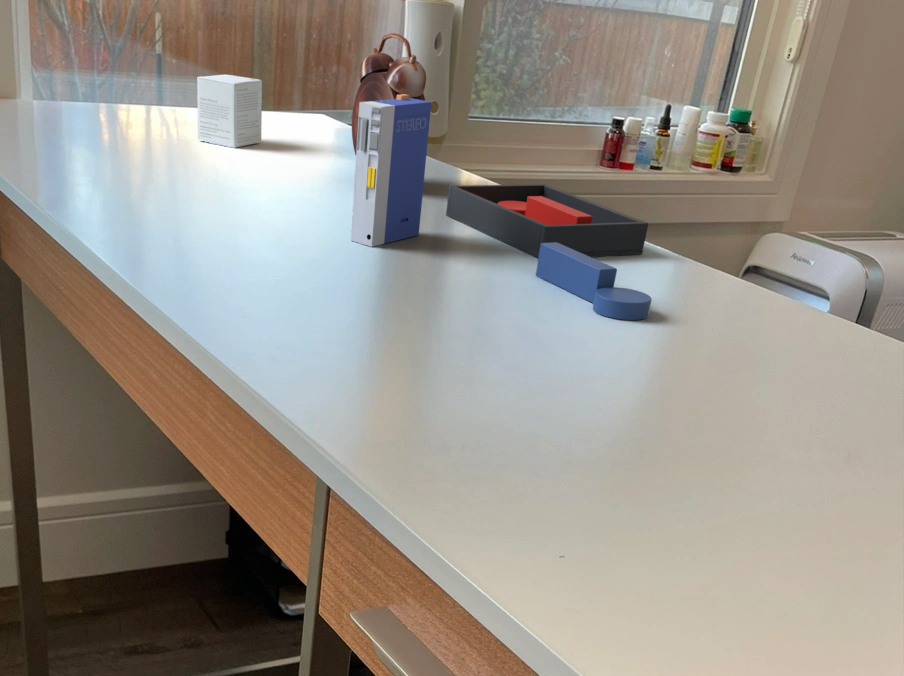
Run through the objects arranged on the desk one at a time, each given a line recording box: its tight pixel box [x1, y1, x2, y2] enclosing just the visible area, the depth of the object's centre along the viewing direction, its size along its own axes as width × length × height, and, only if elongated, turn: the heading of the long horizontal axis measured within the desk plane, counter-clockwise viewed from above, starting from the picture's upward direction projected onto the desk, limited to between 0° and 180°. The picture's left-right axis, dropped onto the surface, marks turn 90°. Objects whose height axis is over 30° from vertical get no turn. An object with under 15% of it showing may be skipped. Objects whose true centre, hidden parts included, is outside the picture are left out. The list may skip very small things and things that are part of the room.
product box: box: [196, 74, 263, 149], centre depth 143 cm, size 6×6×7 cm
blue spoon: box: [535, 242, 653, 321], centre depth 95 cm, size 14×5×3 cm, turn 26°
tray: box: [445, 183, 649, 259], centre depth 114 cm, size 18×12×3 cm
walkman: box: [350, 94, 432, 247], centre depth 104 cm, size 8×3×12 cm, turn 143°
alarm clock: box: [351, 33, 427, 156], centre depth 126 cm, size 11×5×15 cm, turn 28°
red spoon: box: [498, 196, 592, 225], centre depth 113 cm, size 14×5×3 cm, turn 26°
